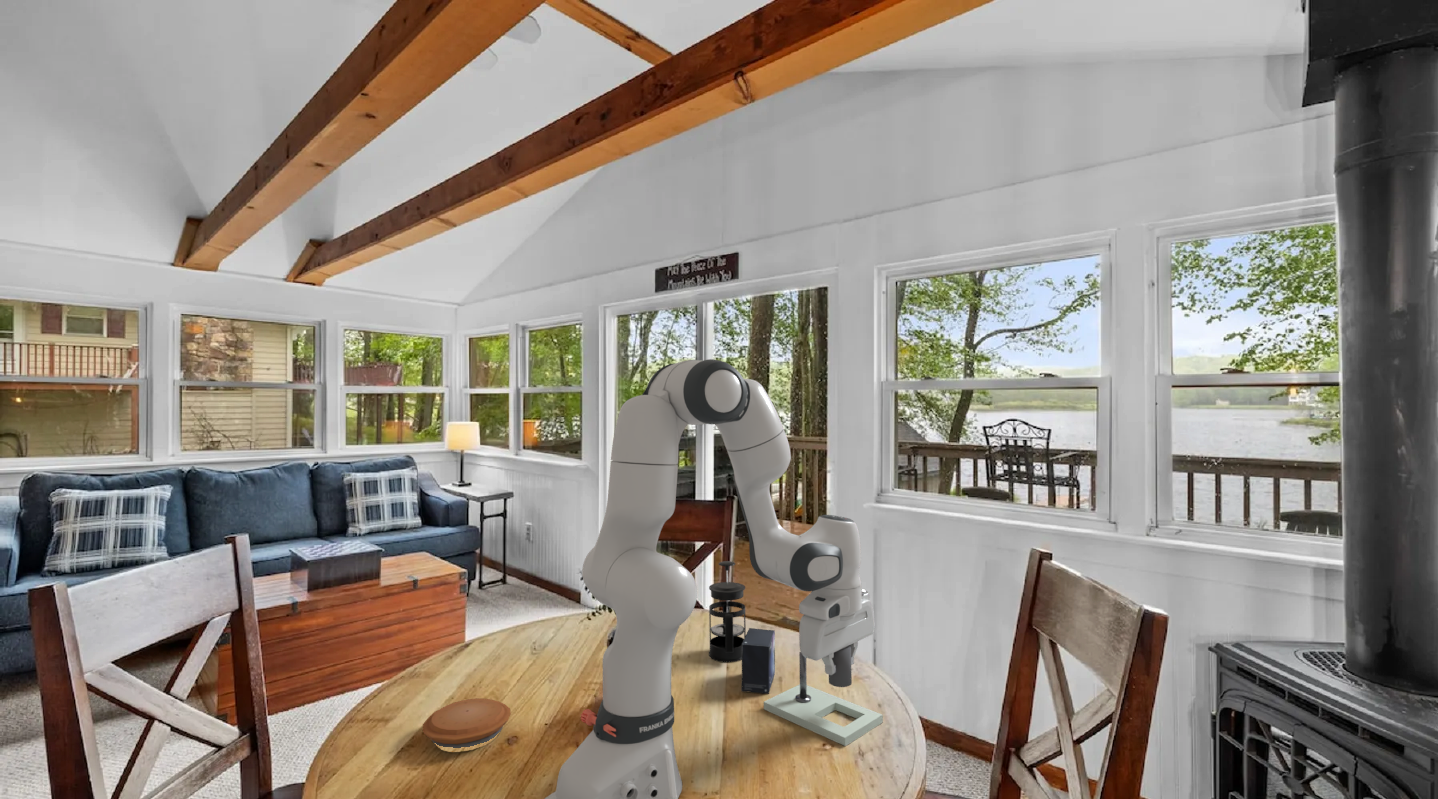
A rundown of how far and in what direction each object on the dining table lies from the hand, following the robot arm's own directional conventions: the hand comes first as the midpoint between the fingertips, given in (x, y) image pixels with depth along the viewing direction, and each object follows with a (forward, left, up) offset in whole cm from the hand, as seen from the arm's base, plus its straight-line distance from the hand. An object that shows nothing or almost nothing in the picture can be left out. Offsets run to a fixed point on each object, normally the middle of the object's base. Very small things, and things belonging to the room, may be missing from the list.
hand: (839, 668), depth 126 cm
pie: (-54, +46, -11) cm, 72 cm away
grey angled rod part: (+1, +9, -9) cm, 13 cm away
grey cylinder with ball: (0, 0, -3) cm, 3 cm away
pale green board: (-1, +4, -10) cm, 11 cm away
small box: (+2, +23, -11) cm, 25 cm away
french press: (+8, +39, -11) cm, 41 cm away
